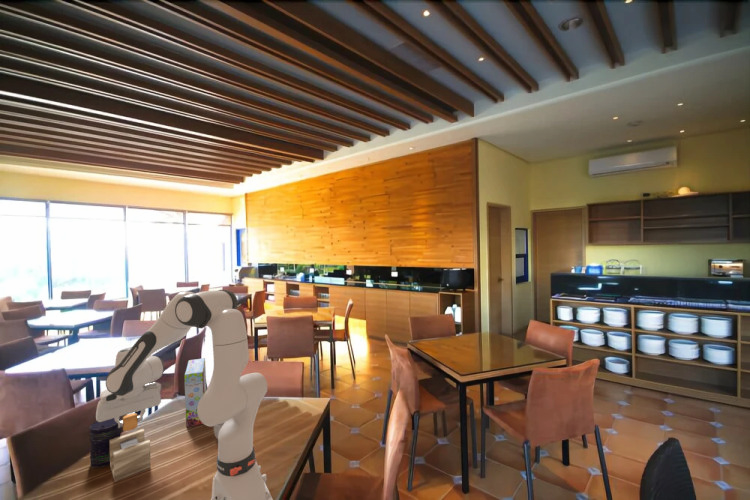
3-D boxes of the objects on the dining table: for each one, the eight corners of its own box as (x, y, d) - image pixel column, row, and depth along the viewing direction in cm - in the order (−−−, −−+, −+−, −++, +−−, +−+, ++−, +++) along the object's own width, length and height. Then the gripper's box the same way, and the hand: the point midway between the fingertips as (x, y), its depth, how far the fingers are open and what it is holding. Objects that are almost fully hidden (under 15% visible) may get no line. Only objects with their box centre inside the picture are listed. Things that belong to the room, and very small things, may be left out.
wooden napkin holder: (150, 467, 126) (150, 441, 126) (114, 481, 119) (114, 454, 118) (143, 452, 136) (143, 428, 135) (109, 465, 128) (109, 439, 128)
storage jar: (96, 455, 134) (96, 419, 134) (125, 449, 137) (125, 414, 137) (85, 470, 125) (84, 432, 124) (116, 464, 128) (115, 426, 128)
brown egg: (136, 423, 130) (136, 412, 130) (138, 427, 127) (138, 416, 127) (122, 427, 127) (121, 416, 127) (123, 432, 124) (123, 420, 124)
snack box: (188, 407, 173) (188, 359, 173) (207, 404, 177) (206, 357, 176) (184, 428, 153) (183, 374, 153) (205, 424, 157) (204, 371, 157)
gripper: (159, 378, 136) (159, 411, 137) (95, 394, 122) (95, 430, 122) (162, 383, 132) (163, 416, 132) (96, 399, 118) (97, 437, 118)
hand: (130, 423), depth 127 cm, fingers closed on brown egg, 5 cm apart
